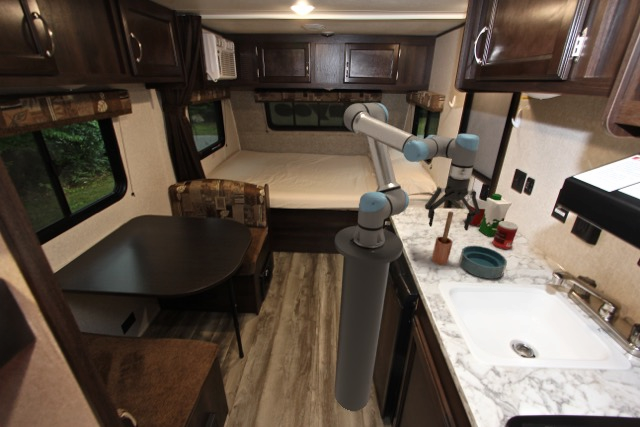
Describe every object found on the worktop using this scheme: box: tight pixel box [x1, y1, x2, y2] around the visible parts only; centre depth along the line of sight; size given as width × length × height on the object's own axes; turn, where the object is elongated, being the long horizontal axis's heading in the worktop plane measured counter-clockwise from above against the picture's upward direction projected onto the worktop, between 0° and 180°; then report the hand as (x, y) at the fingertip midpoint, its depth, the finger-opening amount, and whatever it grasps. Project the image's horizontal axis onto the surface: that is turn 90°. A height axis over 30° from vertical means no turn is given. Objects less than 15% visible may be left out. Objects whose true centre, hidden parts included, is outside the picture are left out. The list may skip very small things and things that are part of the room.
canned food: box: [492, 220, 519, 250], centre depth 136 cm, size 8×8×11 cm
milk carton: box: [478, 193, 512, 237], centre depth 145 cm, size 9×9×20 cm
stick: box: [441, 211, 454, 244], centre depth 120 cm, size 3×3×22 cm
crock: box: [431, 236, 454, 266], centre depth 123 cm, size 6×6×10 cm
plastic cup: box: [467, 198, 487, 226], centre depth 156 cm, size 11×11×12 cm
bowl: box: [458, 245, 508, 279], centre depth 120 cm, size 16×16×6 cm
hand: (447, 227), depth 118 cm, fingers open, 13 cm apart
